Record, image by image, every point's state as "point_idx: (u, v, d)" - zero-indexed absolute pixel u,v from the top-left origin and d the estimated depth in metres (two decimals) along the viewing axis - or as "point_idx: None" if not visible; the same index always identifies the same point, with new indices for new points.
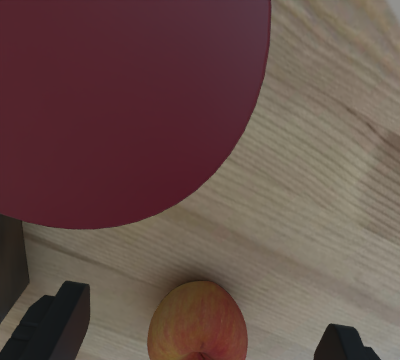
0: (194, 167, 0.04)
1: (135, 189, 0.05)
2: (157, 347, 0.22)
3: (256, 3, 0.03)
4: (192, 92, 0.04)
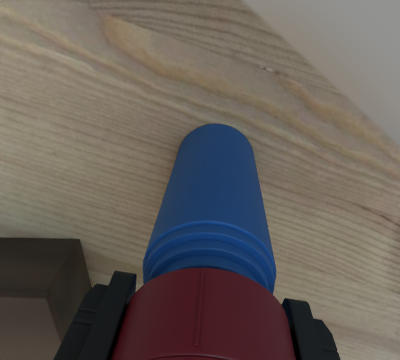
0: None
1: None
2: None
3: None
4: None
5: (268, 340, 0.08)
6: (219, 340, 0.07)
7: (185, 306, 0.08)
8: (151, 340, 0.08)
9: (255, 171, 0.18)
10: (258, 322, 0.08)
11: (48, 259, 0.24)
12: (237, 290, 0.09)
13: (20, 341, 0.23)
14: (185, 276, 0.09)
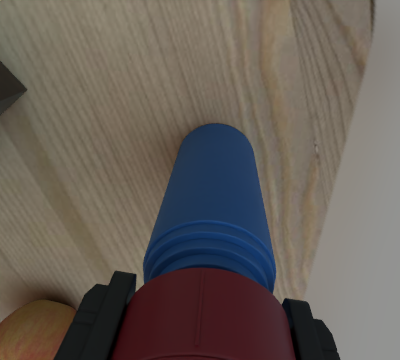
0: None
1: None
2: (1, 352, 0.24)
3: None
4: None
5: (268, 340, 0.08)
6: (219, 340, 0.07)
7: (185, 306, 0.08)
8: (151, 340, 0.08)
9: None
10: (258, 322, 0.08)
11: None
12: (237, 290, 0.09)
13: None
14: (185, 276, 0.09)
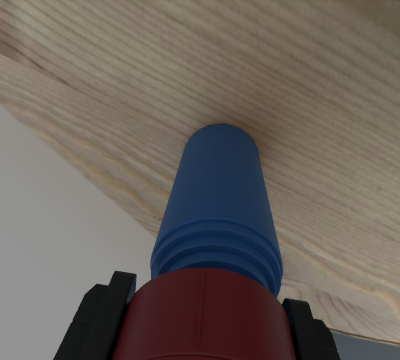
0: None
1: None
2: None
3: None
4: None
5: (269, 340, 0.08)
6: (220, 340, 0.07)
7: (186, 306, 0.08)
8: (152, 339, 0.08)
9: None
10: (259, 322, 0.08)
11: None
12: (238, 290, 0.09)
13: None
14: (186, 276, 0.09)
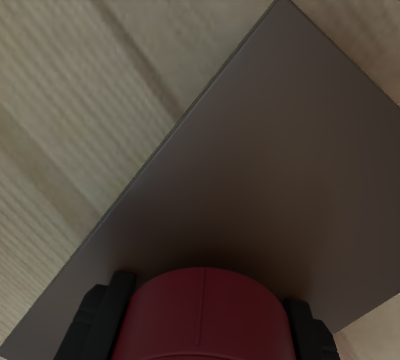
0: None
1: None
2: None
3: None
4: None
5: (268, 339, 0.08)
6: (219, 339, 0.07)
7: (185, 305, 0.08)
8: (151, 339, 0.08)
9: None
10: (258, 321, 0.08)
11: None
12: (237, 289, 0.09)
13: None
14: (185, 275, 0.09)
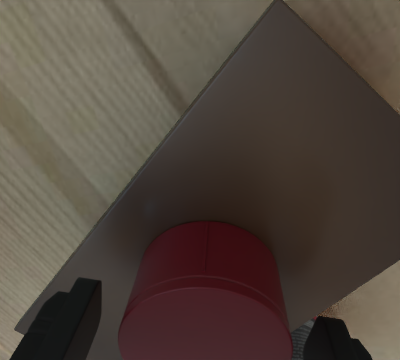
0: None
1: None
2: None
3: (286, 339, 0.09)
4: None
5: (260, 272, 0.10)
6: (220, 268, 0.09)
7: (193, 246, 0.10)
8: (166, 270, 0.10)
9: None
10: (252, 260, 0.10)
11: None
12: (235, 237, 0.11)
13: (115, 313, 0.14)
14: (192, 227, 0.11)
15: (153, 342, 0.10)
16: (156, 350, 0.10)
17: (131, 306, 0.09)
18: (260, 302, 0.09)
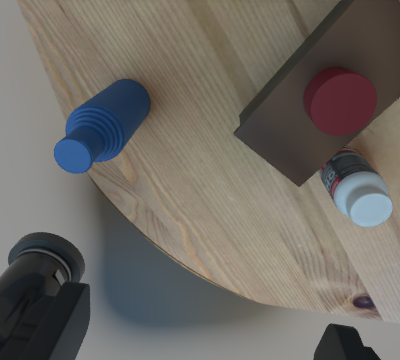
0: (365, 120, 0.28)
1: (355, 126, 0.28)
2: None
3: (374, 97, 0.27)
4: (365, 109, 0.27)
5: None
6: (352, 72, 0.27)
7: (337, 70, 0.28)
8: (331, 74, 0.27)
9: None
10: None
11: None
12: (350, 70, 0.28)
13: (285, 120, 0.32)
14: (332, 68, 0.29)
15: (325, 102, 0.27)
16: (325, 106, 0.28)
17: (320, 85, 0.27)
18: (367, 79, 0.26)
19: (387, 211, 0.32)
